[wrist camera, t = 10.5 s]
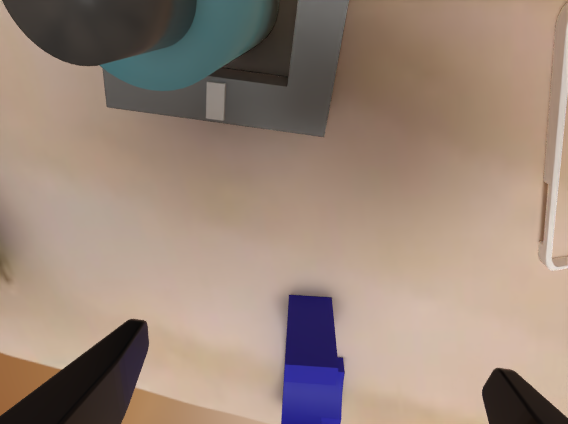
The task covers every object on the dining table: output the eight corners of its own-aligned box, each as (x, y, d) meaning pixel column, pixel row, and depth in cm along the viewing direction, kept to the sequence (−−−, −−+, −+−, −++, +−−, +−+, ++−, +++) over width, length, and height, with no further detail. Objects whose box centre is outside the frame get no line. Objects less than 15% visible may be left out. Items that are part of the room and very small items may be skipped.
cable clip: (334, 403, 31) (340, 482, 26) (282, 399, 31) (278, 477, 26) (352, 297, 25) (365, 370, 20) (289, 293, 26) (285, 364, 20)
